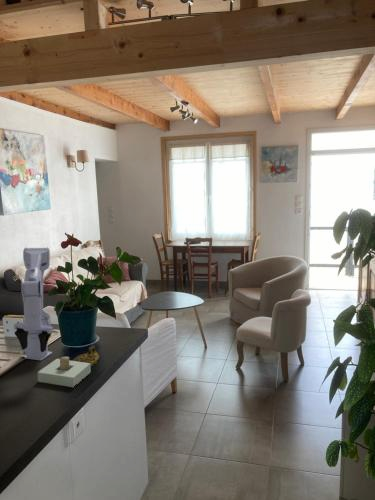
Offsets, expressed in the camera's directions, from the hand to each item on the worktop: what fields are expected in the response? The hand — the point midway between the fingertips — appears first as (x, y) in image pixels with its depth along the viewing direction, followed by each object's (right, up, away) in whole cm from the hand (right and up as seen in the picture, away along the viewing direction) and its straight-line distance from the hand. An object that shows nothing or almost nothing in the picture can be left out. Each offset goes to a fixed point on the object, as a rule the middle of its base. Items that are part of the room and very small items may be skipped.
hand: (33, 349), depth 144 cm
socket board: (+11, -10, 0) cm, 15 cm away
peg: (+11, -10, 0) cm, 15 cm away
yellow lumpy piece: (+15, -8, +14) cm, 22 cm away
